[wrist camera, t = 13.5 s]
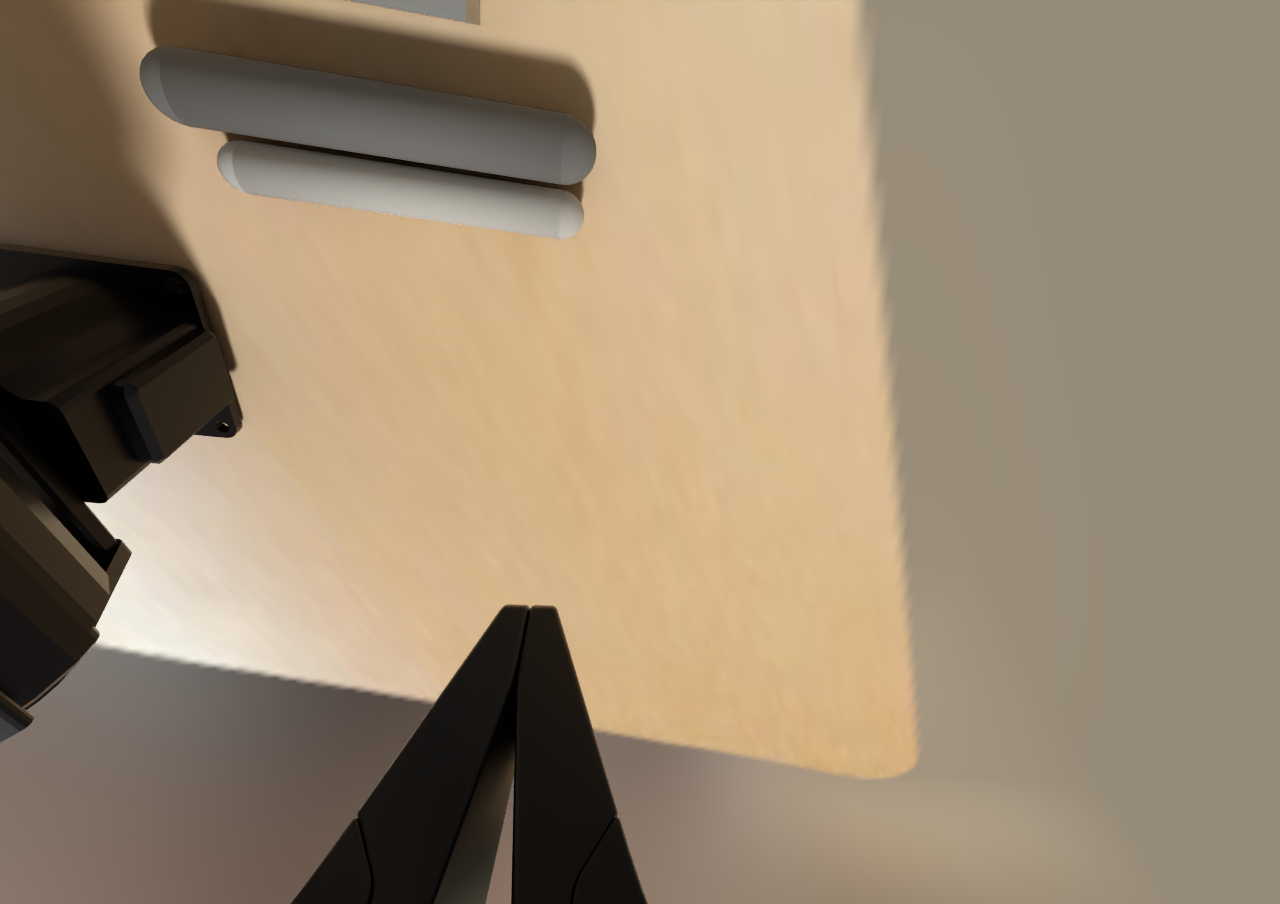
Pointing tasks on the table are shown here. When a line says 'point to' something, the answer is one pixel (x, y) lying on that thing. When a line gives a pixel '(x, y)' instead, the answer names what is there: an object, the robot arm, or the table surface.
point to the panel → (434, 8)
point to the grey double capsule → (378, 142)
